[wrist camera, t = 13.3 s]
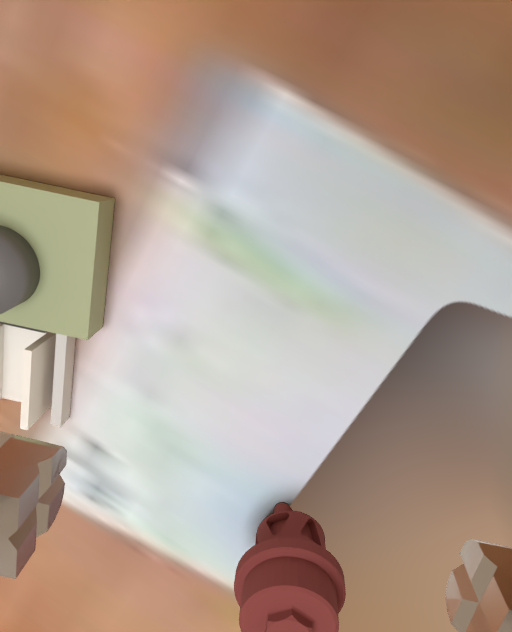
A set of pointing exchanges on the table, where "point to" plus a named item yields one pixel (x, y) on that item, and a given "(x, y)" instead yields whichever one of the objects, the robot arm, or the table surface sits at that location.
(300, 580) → the mechanical component
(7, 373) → the chute
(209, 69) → the table surface
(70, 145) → the table surface
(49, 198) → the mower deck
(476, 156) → the table surface
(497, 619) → the robot arm
